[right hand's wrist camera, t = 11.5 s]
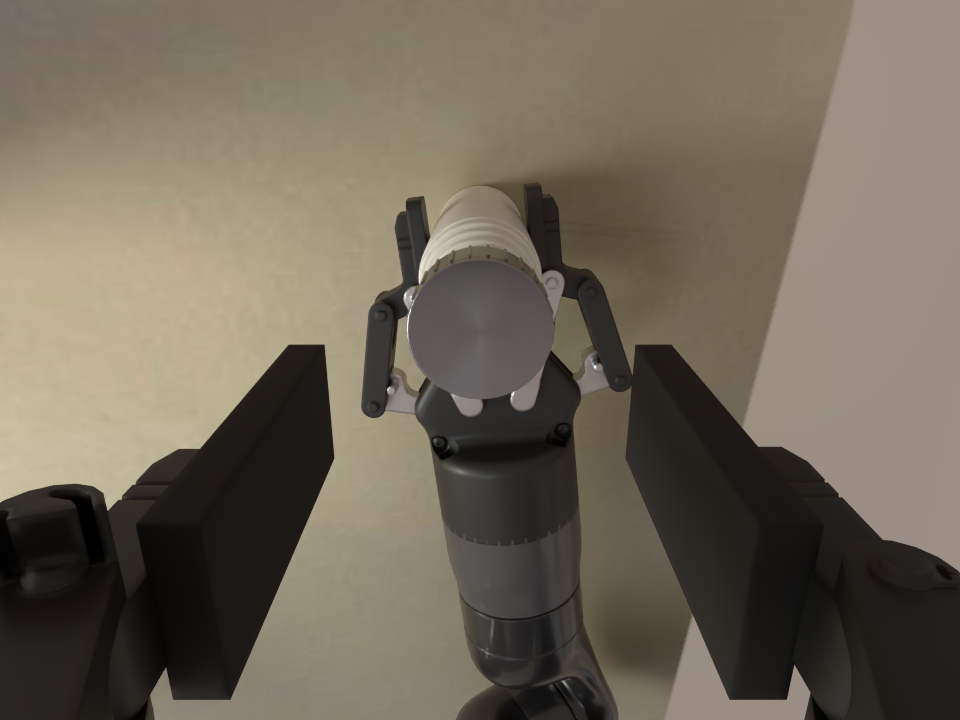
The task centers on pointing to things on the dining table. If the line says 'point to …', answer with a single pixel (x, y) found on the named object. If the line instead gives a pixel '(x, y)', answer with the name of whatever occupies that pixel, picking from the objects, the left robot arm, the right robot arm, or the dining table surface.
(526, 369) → the cap
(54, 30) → the dining table surface
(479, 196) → the bottle
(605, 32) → the dining table surface
